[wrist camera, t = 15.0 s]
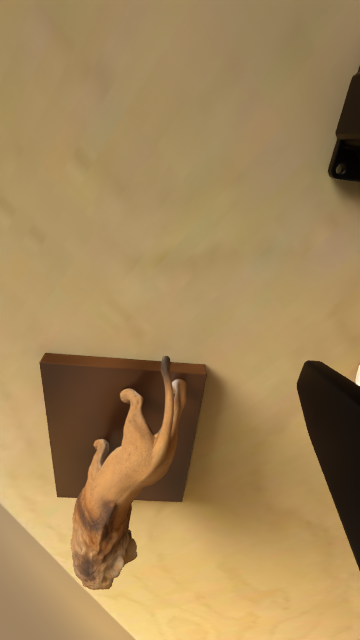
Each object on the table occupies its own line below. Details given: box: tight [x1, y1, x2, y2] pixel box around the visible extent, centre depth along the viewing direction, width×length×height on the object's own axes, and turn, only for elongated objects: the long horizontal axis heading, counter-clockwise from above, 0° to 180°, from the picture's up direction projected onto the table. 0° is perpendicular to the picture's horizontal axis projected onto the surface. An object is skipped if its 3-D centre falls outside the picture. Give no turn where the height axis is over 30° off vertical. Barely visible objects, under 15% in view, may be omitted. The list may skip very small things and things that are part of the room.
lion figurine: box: [71, 356, 187, 590], centre depth 22 cm, size 15×5×9 cm, turn 160°
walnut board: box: [40, 353, 207, 502], centre depth 27 cm, size 12×16×1 cm
